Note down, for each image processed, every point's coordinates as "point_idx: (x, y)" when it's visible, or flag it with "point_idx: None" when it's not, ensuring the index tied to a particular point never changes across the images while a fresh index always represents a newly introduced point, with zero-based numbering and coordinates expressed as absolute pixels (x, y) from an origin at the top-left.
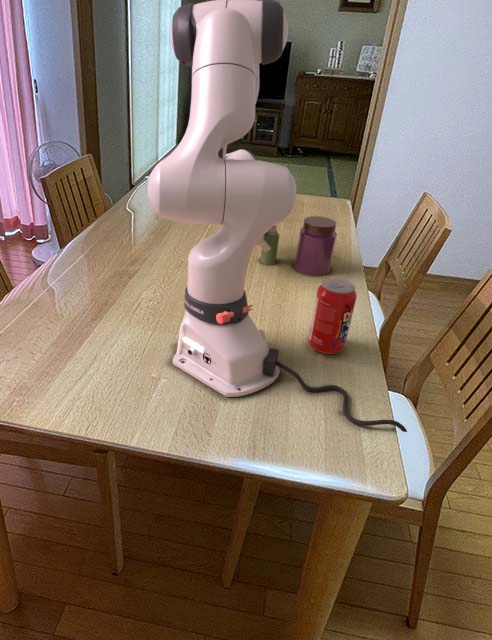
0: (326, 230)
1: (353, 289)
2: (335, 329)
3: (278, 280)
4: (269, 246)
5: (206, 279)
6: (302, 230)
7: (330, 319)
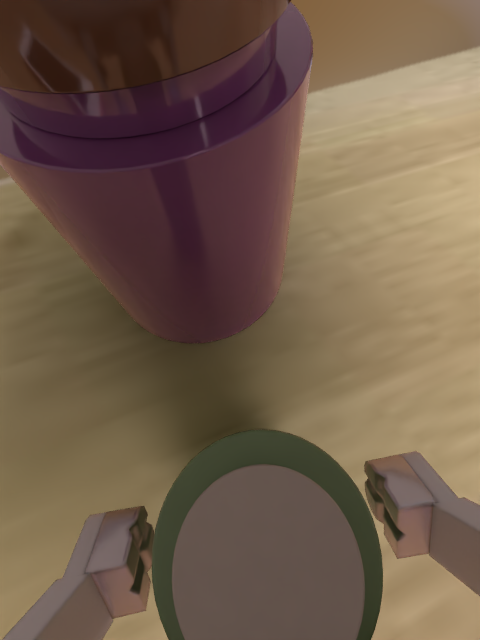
0: None
1: None
2: None
3: (448, 338)
4: (419, 466)
5: None
6: (188, 136)
7: None
